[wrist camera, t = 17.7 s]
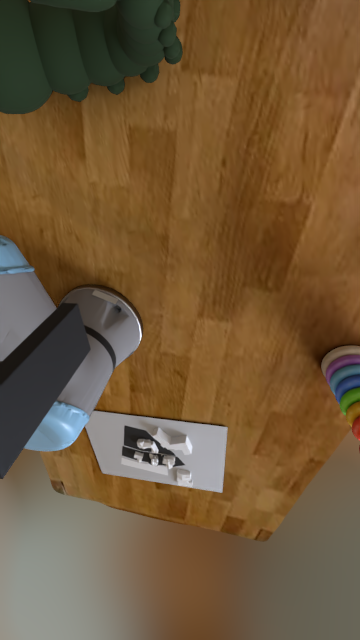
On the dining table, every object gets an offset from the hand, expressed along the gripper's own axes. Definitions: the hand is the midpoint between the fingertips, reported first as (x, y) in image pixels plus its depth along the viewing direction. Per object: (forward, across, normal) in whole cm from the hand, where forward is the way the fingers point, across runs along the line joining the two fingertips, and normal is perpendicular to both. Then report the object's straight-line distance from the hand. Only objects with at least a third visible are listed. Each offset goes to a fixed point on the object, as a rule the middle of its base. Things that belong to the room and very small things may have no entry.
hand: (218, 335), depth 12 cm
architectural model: (+29, -16, -60) cm, 68 cm away
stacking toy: (+29, +20, -25) cm, 43 cm away
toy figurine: (+29, -17, +15) cm, 37 cm away
